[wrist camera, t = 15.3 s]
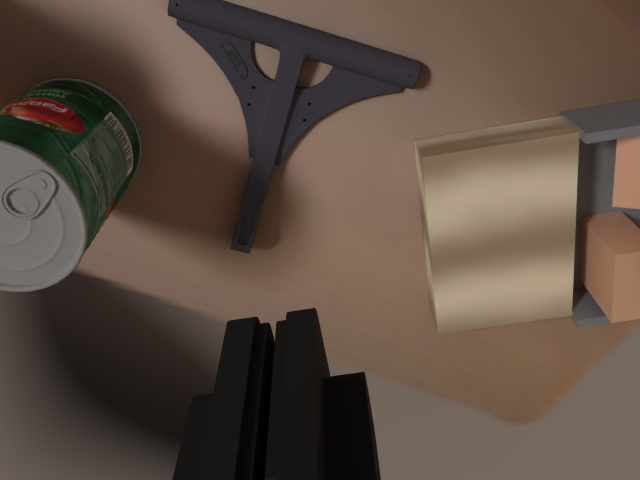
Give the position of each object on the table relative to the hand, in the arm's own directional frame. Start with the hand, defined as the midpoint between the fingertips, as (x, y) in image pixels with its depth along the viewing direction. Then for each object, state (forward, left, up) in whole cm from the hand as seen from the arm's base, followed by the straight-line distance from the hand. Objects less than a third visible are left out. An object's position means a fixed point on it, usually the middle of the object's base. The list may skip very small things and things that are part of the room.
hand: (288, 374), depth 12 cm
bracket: (+5, -3, -28) cm, 29 cm away
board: (+12, +11, -27) cm, 32 cm away
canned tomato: (+2, -14, -27) cm, 31 cm away
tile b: (+16, +17, -24) cm, 33 cm away
